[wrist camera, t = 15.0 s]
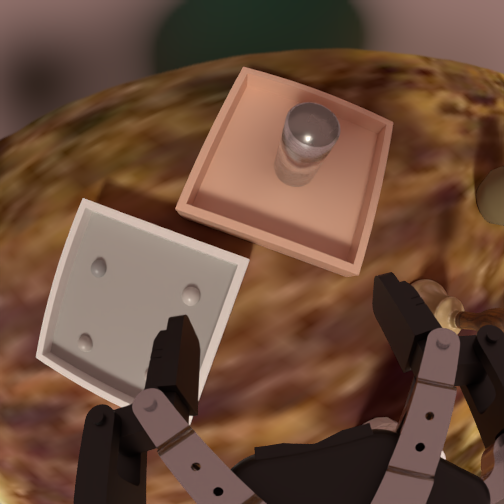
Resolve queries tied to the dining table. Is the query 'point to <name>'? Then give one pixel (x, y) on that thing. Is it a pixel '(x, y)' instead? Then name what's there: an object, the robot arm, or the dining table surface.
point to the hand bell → (455, 309)
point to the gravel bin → (131, 300)
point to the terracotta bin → (278, 193)
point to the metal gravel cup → (305, 143)
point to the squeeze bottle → (492, 197)
